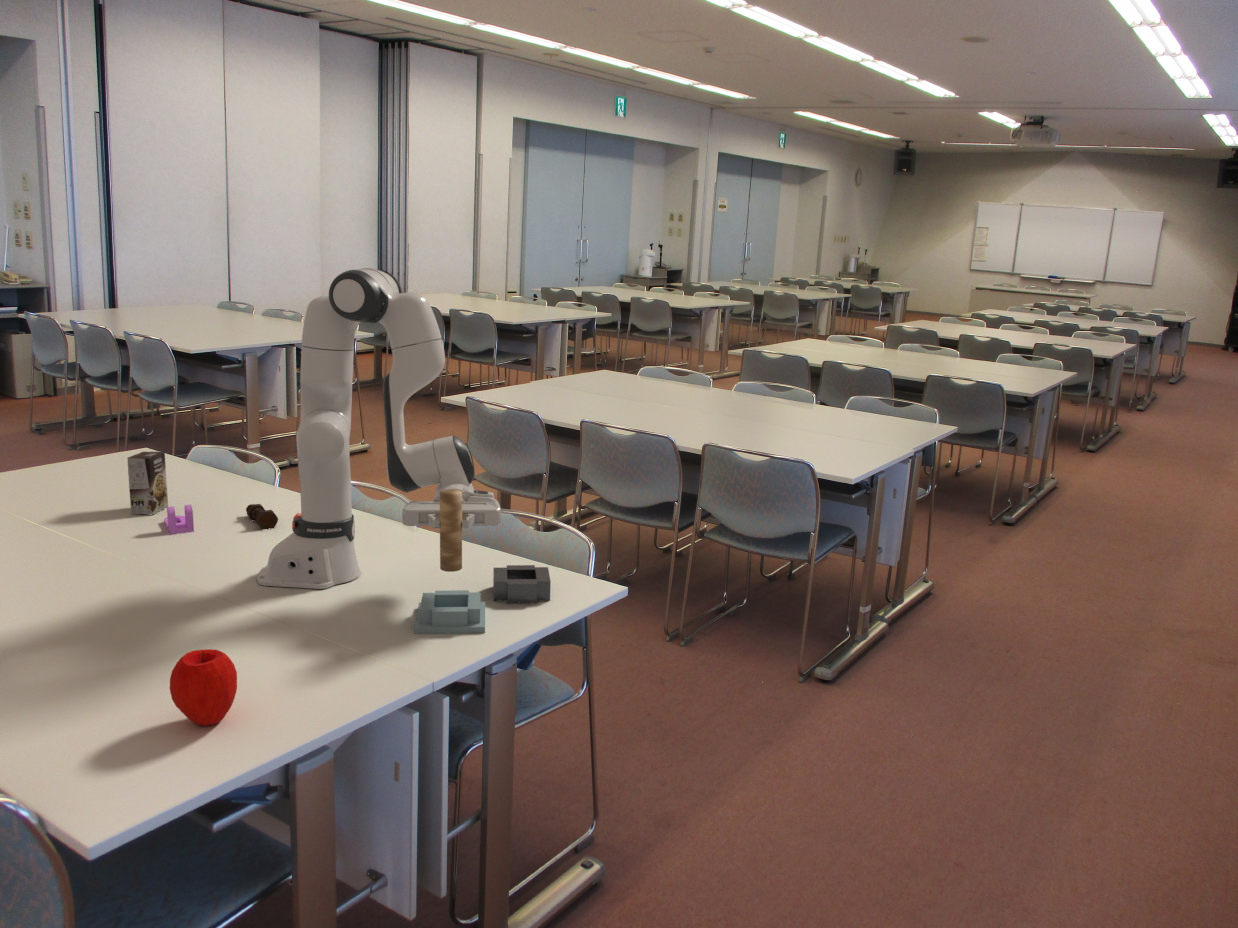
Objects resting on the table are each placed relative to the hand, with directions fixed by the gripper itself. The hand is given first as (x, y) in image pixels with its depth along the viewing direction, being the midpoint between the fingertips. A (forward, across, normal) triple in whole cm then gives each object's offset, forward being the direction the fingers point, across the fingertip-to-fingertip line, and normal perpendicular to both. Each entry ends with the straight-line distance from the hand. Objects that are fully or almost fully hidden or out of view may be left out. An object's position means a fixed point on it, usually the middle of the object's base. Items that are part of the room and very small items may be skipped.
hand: (450, 524), depth 190 cm
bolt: (-72, -54, +21) cm, 93 cm away
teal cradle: (-1, 0, +21) cm, 21 cm away
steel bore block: (-16, +15, +21) cm, 30 cm away
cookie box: (-84, -86, +21) cm, 122 cm away
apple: (+40, -37, +21) cm, 58 cm away
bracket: (-68, -74, +21) cm, 103 cm away
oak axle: (-1, 0, +10) cm, 10 cm away
